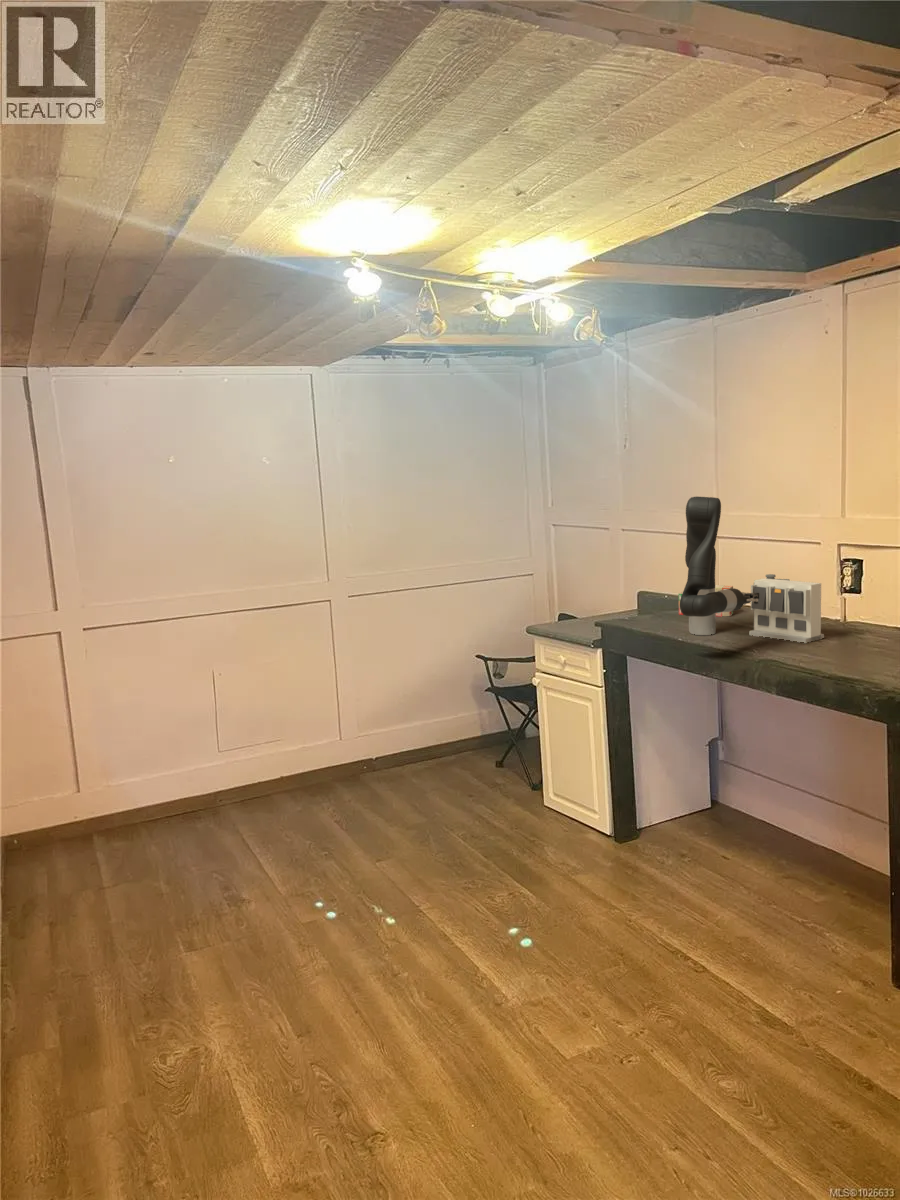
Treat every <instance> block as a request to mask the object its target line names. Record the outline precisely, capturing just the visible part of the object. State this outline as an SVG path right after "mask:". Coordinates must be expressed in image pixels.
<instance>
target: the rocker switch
mask: <svg viewBox="0 0 900 1200" xmlns="http://www.w3.org/2000/svg"><path fill="white" fill-rule="evenodd" d="M754 592H756V593H759V599H758V604H754V603H753V601H752V606H751V605H750V609H751V608H753V609H760V610H766V588H765V587H754Z"/></svg>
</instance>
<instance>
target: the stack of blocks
mask: <svg viewBox="0 0 900 1200" xmlns="http://www.w3.org/2000/svg"><path fill="white" fill-rule="evenodd" d="M733 588H734V586H733V585H724V584H718V585H716V584H715V592H717V591H720V590H726V589H733ZM683 591H684V590H682V591H680V592H679V593H678V594H677V595H678V596H677V597H678V615H679V616H680V615H681V616H684V615H683V614H682V612H681V610H680V599H681V596H682V594H683ZM731 614H734V611H730V612H720V613H716V617H722V616H730V615H731ZM731 616H732V615H731ZM731 616H730V617H731Z"/></svg>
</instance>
